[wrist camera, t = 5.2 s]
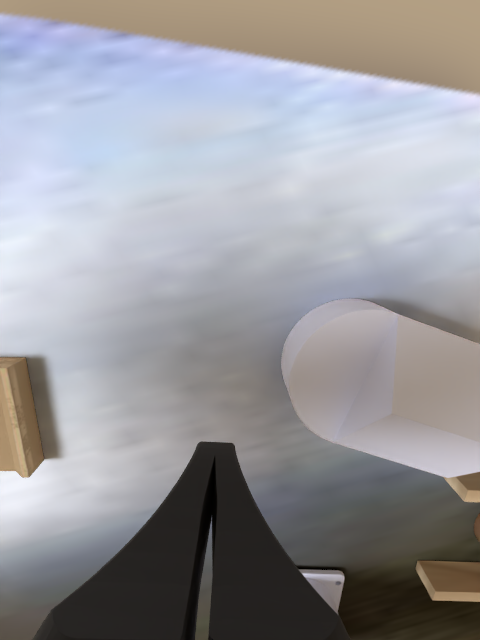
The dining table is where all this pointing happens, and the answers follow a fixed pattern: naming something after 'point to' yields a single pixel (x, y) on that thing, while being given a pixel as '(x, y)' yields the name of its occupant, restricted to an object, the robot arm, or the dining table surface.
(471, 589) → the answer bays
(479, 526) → the tan smooth rounded piece
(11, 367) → the banker's lamp
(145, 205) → the dining table surface
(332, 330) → the wedge on round base
